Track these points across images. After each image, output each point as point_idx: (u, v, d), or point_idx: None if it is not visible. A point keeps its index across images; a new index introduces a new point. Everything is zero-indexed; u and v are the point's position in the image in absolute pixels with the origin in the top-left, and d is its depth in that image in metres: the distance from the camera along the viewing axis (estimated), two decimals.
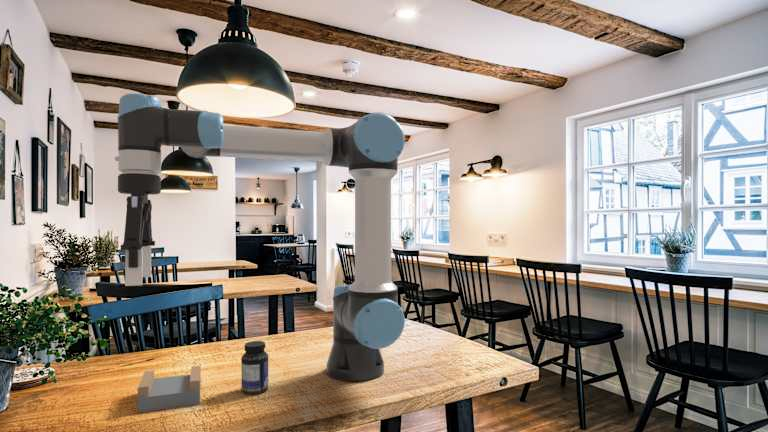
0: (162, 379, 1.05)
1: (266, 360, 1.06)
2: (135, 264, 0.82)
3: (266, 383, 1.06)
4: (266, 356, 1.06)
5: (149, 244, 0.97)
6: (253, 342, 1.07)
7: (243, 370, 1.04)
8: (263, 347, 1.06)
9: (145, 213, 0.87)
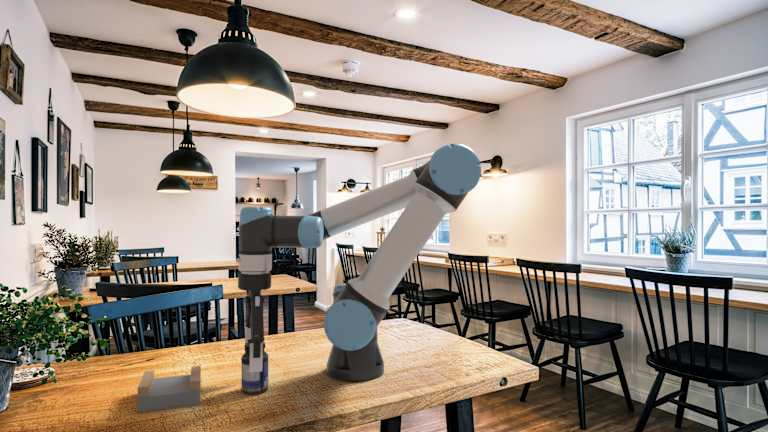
0: (162, 379, 1.05)
1: (266, 360, 1.06)
2: (259, 355, 0.99)
3: (266, 383, 1.06)
4: (266, 356, 1.06)
5: None
6: None
7: (243, 370, 1.04)
8: (263, 347, 1.06)
9: None
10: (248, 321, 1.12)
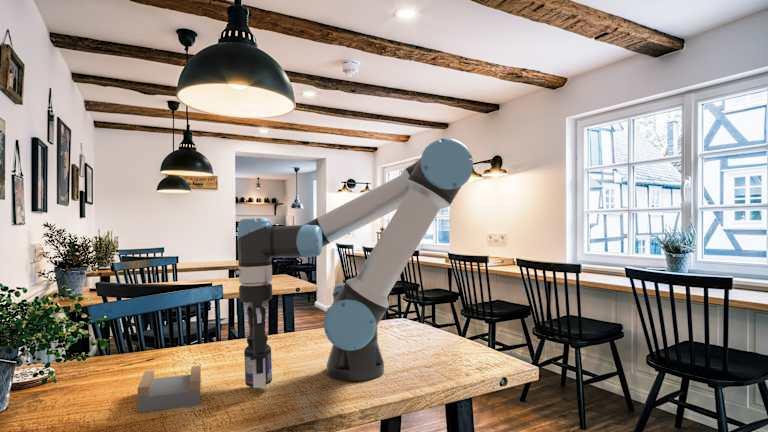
0: (162, 379, 1.05)
1: (269, 352, 1.06)
2: (261, 371, 1.02)
3: (270, 375, 1.06)
4: (269, 348, 1.06)
5: None
6: None
7: (246, 363, 1.04)
8: (265, 339, 1.06)
9: None
10: None
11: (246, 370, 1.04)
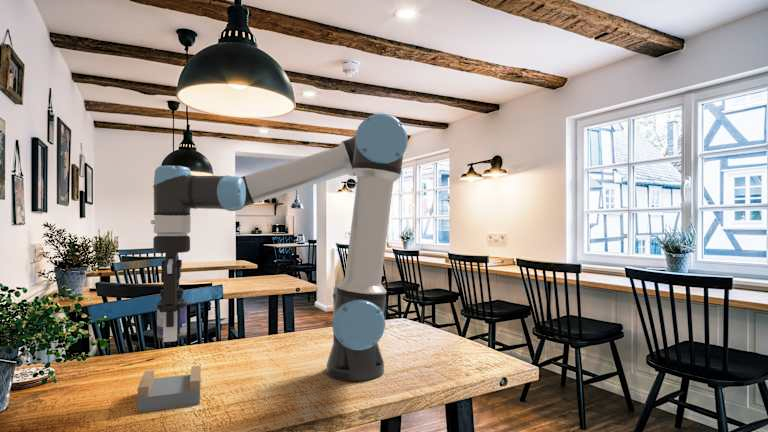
0: (162, 379, 1.05)
1: (183, 306, 1.01)
2: (171, 324, 0.97)
3: (183, 330, 1.01)
4: (183, 302, 1.01)
5: None
6: None
7: (158, 316, 1.00)
8: (180, 293, 1.01)
9: (178, 273, 1.00)
10: None
11: (157, 323, 1.00)
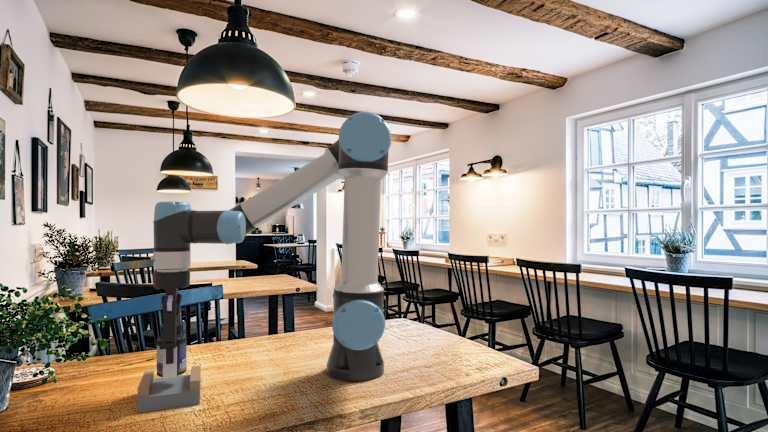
0: (162, 379, 1.05)
1: (183, 342, 1.01)
2: (171, 361, 0.97)
3: (183, 366, 1.01)
4: (183, 338, 1.01)
5: None
6: None
7: (157, 352, 1.00)
8: (180, 328, 1.01)
9: (177, 309, 1.00)
10: None
11: (157, 359, 1.00)
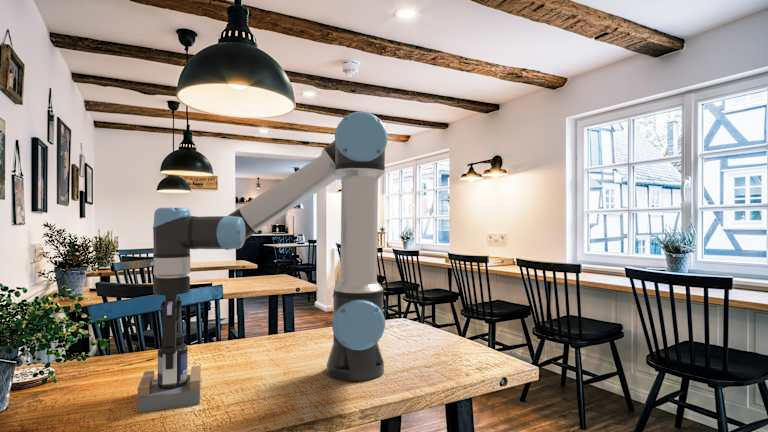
0: None
1: (184, 353, 1.01)
2: (171, 366, 0.96)
3: (183, 377, 1.01)
4: (184, 349, 1.01)
5: None
6: None
7: (158, 363, 1.00)
8: (181, 339, 1.01)
9: (177, 314, 1.00)
10: None
11: (158, 370, 1.00)
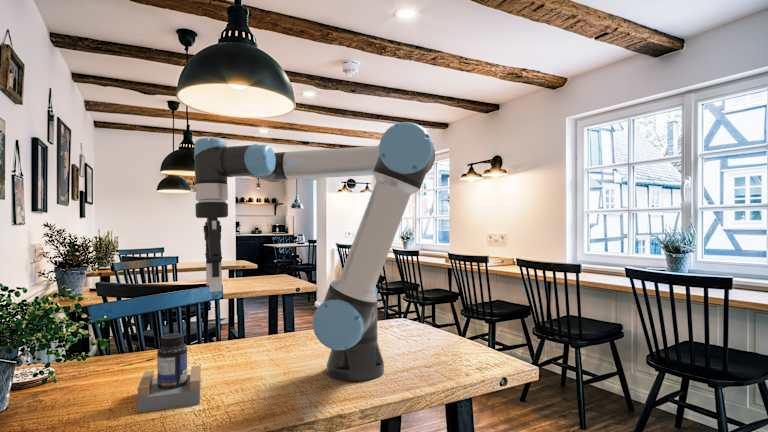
0: None
1: (183, 353, 1.01)
2: (217, 274, 1.04)
3: (183, 377, 1.01)
4: (183, 349, 1.01)
5: None
6: (171, 334, 1.03)
7: (158, 363, 1.00)
8: (180, 339, 1.01)
9: (219, 233, 1.09)
10: (208, 252, 1.17)
11: (158, 371, 1.00)
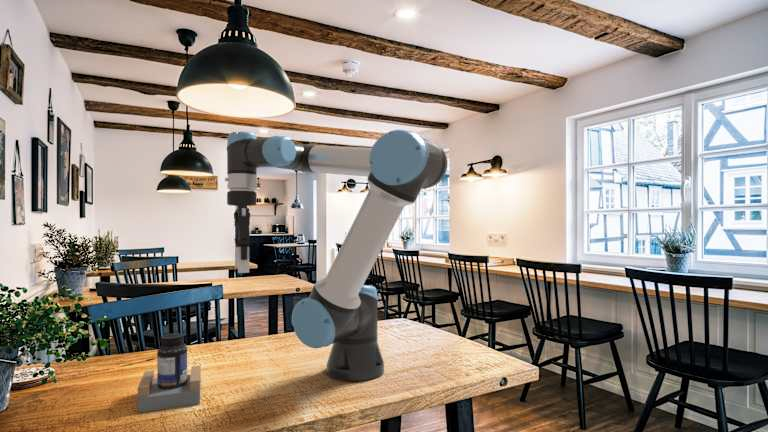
0: None
1: (183, 353, 1.01)
2: (245, 257, 1.13)
3: (183, 377, 1.01)
4: (183, 349, 1.01)
5: None
6: (171, 334, 1.03)
7: (158, 363, 1.00)
8: (180, 339, 1.01)
9: None
10: (237, 238, 1.26)
11: (158, 371, 1.00)
